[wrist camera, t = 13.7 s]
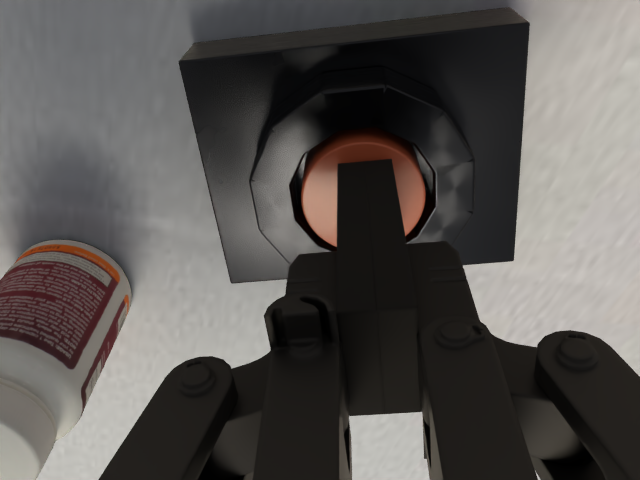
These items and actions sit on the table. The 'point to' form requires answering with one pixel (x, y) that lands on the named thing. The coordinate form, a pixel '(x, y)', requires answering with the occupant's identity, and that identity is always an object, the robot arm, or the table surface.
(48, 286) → the pill bottle
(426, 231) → the button box
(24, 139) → the table surface
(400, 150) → the bell button
